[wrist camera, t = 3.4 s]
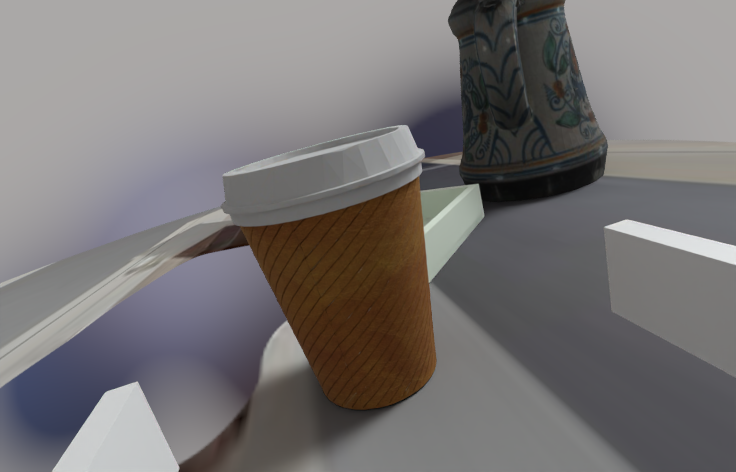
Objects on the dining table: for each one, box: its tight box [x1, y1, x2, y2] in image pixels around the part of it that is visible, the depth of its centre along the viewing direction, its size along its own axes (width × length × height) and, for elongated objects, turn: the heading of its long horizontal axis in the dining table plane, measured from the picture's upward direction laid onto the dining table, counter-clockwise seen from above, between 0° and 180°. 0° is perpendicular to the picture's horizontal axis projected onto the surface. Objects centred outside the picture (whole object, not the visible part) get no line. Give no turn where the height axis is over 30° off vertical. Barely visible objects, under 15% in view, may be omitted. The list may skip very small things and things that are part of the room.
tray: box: [420, 184, 485, 283], centre depth 40 cm, size 16×16×4 cm
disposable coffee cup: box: [221, 125, 436, 410], centre depth 21 cm, size 10×10×12 cm
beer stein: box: [448, 0, 608, 202], centre depth 46 cm, size 16×19×25 cm
